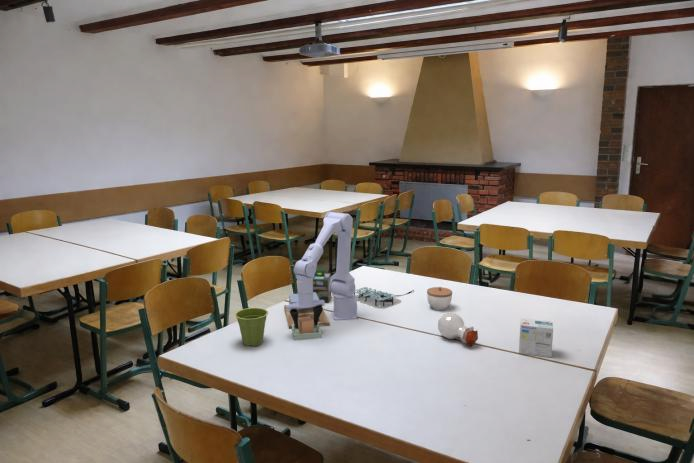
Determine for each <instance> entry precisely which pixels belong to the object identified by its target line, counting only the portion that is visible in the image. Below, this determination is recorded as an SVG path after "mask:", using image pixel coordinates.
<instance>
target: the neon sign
mask: <svg viewBox="0 0 694 463" xmlns="http://www.w3.org/2000/svg"><path fill="white" fill-rule="evenodd" d="M414 291H415V289H412V290H411V291H409V292H407V293H405V294H399V295H398V294H397V295H395V294H393V293H389V292H387V291H382V290H377V289H376V288H375V289H374V288H373V289H372V287H367V286H363V287H361V288H358V289H355V293H354V294H353V295H355V296H356V299H357V302H359V303H361V304H364V305H367V306H369V307H373V308H375V309H388V308H391V307H393V306H396V305H398V304H400V303H402V300H400V299H399V298H396V297H401V296H405V295H407V294H411V293H412V292H414ZM356 294H357V295H356Z"/></svg>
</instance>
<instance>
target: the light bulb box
mask: <svg viewBox="0 0 694 463" xmlns="http://www.w3.org/2000/svg"><path fill="white" fill-rule="evenodd" d="M553 336H554V324H553V321H550V320H548V321H547V320H537V319H528V318H522V317H521V319H520V326H519V338H518V339H519V342H518V343H519V345H518V353H519V354H524V355H529V356H530V355H531V356H537V357H546V358H551V357H552V354H553V352H552V351H553Z"/></svg>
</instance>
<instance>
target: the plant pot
mask: <svg viewBox="0 0 694 463" xmlns="http://www.w3.org/2000/svg"><path fill="white" fill-rule="evenodd" d="M268 314H269V311H268V310H267V309H265V308H261V307H248V308H243V309H242V308H241V309H240V310H238V311H236V312H235V313H234V316H235V318H236V319H237V323H238V325H239V330H240V334H241V340H242V344H243V345H245V346H252V347H254V346H258V345H260V344H262V343H263V342H264V336H265V335H264V334H265V326H266V321H267V316H268Z"/></svg>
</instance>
